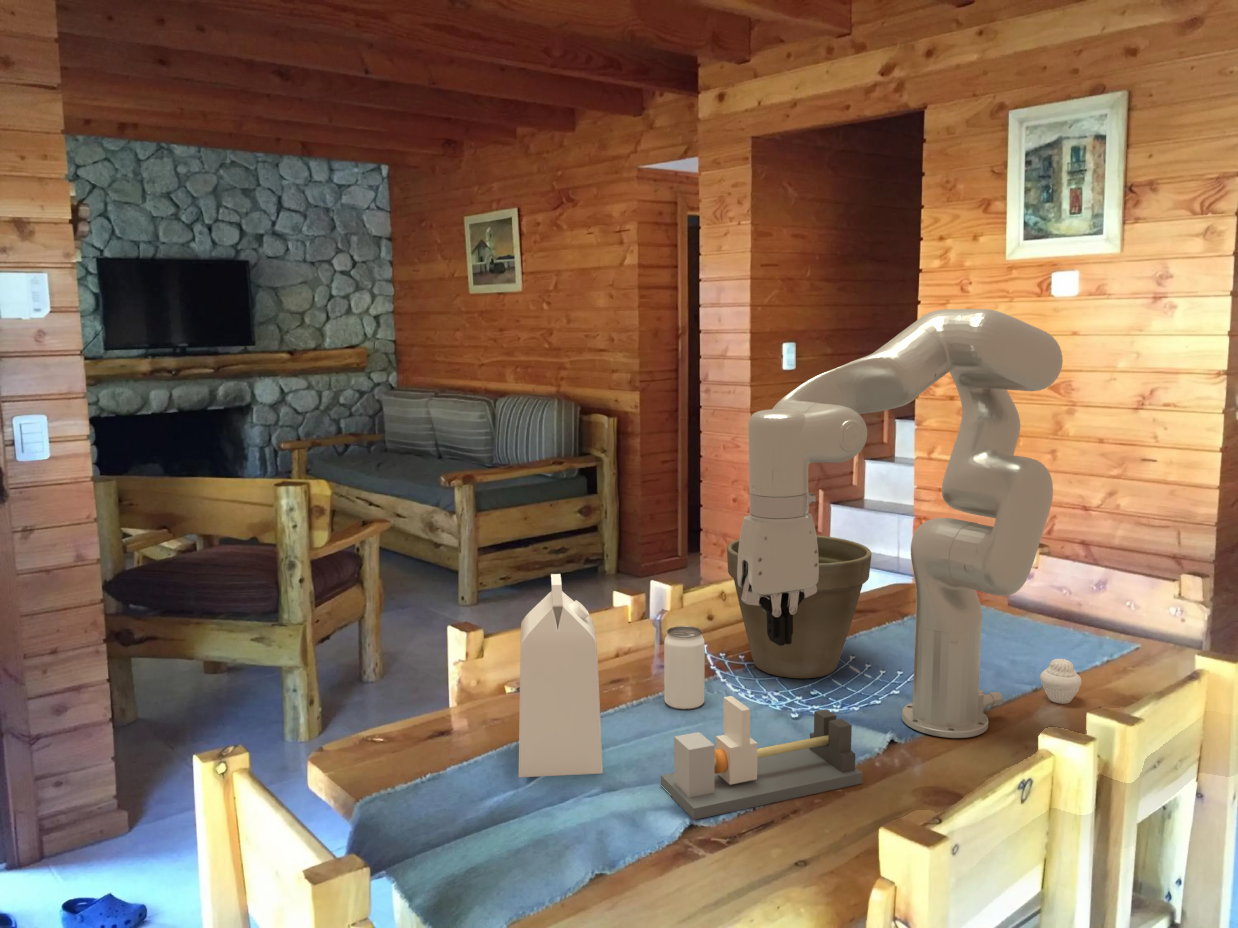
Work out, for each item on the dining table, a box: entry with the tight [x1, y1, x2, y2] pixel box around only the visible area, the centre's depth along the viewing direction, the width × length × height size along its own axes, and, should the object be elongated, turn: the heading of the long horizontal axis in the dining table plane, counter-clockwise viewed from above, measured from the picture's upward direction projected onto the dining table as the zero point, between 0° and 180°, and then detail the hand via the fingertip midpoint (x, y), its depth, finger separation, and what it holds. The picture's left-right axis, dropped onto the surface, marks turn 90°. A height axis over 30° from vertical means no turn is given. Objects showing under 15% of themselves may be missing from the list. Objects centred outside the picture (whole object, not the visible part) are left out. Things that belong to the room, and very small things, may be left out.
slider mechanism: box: [660, 708, 863, 821], centre depth 134 cm, size 25×10×8 cm, turn 112°
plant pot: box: [726, 534, 872, 679], centre depth 179 cm, size 25×25×22 cm
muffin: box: [1039, 658, 1082, 705], centre depth 163 cm, size 6×6×7 cm
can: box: [663, 625, 706, 711], centre depth 163 cm, size 6×6×12 cm
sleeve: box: [715, 695, 758, 785], centre depth 133 cm, size 4×5×10 cm
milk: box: [518, 573, 604, 778], centre depth 142 cm, size 12×12×26 cm
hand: (780, 641), depth 133 cm, fingers closed
